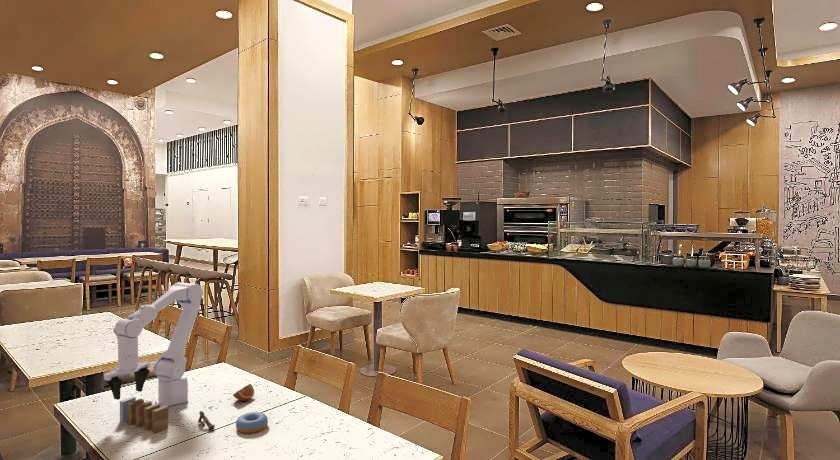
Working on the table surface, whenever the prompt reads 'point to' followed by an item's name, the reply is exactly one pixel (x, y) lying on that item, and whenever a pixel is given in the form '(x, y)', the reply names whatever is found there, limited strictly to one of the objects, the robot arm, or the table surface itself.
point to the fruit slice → (245, 393)
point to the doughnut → (251, 422)
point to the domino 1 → (125, 409)
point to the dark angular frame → (205, 421)
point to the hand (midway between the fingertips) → (128, 394)
